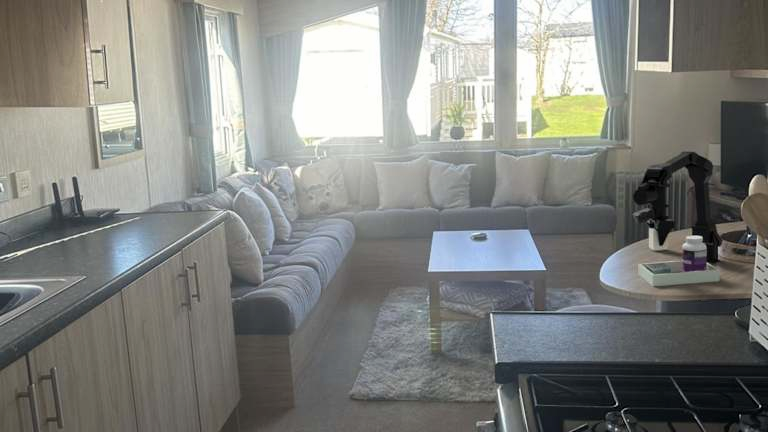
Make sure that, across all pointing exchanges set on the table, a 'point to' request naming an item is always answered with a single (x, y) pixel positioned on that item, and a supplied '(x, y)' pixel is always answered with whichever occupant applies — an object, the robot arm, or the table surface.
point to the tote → (678, 275)
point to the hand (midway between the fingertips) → (658, 244)
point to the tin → (658, 268)
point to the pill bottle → (694, 254)
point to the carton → (656, 241)
